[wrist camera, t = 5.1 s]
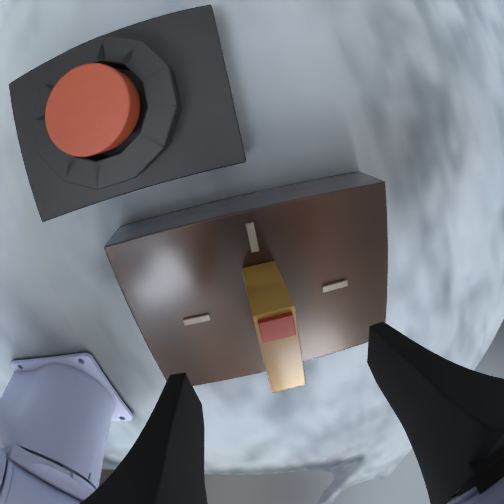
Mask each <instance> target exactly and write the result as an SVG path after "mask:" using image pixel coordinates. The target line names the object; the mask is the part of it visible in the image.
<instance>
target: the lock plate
mask: <svg viewBox="0 0 504 504" xmlns="http://www.w3.org/2000/svg"><path fill="white" fill-rule="evenodd" d="M104 248H105V251H106V254H107V256H108V259H109V261H110V264H111V266H112V269H113V271H114V274H115V276H116V278H117V281H118V283H119V285H120V288H121V290H122V292H123V295H124V297H125V299H126V301H127V304H128V306H129V308H130V310H131V312H132V314H133V317H134V319H135V321H136V323H137V325H138V327H139V329H140V331H141V333H142V335H143V337H144V339H145V341H146V343H147V345H148V347H149V349H150V351H151V353H152V355H153V357H154V359H155V360H156V362H157V364H158V366H159V368H160V370H161V372H162V373H163V375H164V377H165V379H166V381H167V380H168V378H169V376H170V375H172V374H178V373H184V372H185V373H186V375H187V377H188V379H189V381H190V383H191V385H192V386H195V385H201V384H206V383H212V382H217V381H223V380H228V379H233V378H237V377H242V376H247V375H251V374H256V373H260V372H264V371H266V368H265V364H264V360H263V356H262V352H261V348H260V345H259V341H258V337H257V333H256V329H255V325H254V321H253V317H252V313H251V308H250V304H249V299H248V295H247V290H246V285H245V281H244V276H243V271H242V268H246V267H250V266H254V265H258V264H262V263H266V262H271V261H275V263H276V265H277V267H278V270H279V272H280V274H281V276H282V279H283V281H284V283H285V285H286V288H287V290H288V292H289V294H290V297H291V299H292V301H293V304H294V306H295V311H296V318H297V325H298V331H299V338H300V345H301V352H302V359H303V362H304V361H307V360H311V359H315V358H318V357H322V356H325V355H328V354H332V353H335V352H338V351H341V350H345V349H348V348H351V347H354V346H357V345H360V344H363V343H366V342H369V326H371V325H374V324H377V323H380V322H384V323H385V320H386V303H387V273H388V237H387V207H386V190H385V182H384V181H381V180H379V179H376V178H374V177H371V176H369V175H366V174H364V173H361V172H354V173H349V174H343V175H338V176H332V177H327V178H322V179H316V180H311V181H306V182H301V183H296V184H291V185H286V186H282V187H277V188H272V189H268V190H263V191H259V192H254V193H250V194H245V195H241V196H236V197H232V198H228V199H224V200H220V201H215V202H211V203H207V204H203V205H199V206H195V207H191V208H187V209H183V210H179V211H176V212H172V213H168V214H164V215H161V216H157V217H153V218H150V219H146V220H142V221H139V222H135V223H132V224H128V225H125V226H121V227H120V228H119V229H118V230H117V231H116V233H115V234H114V235H113V236H112V238H111V239H110V240H109V241H108V243H107V244H106V245H105V246H104Z"/></svg>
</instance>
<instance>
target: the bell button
mask: <svg viewBox="0 0 504 504" xmlns="http://www.w3.org/2000/svg"><path fill="white" fill-rule="evenodd" d="M139 114H140V96H139V93H138V90H137V88H136V86H135V84H134V83H133V81H132V80H131V79H130V78H129V77H128V76H126V75H125V74H123V73H122V72H120V71H118V70H116V69H114V68H112V67H110V66H108V65H105V64H101V63H88V64H84V65H81V66H78V67H76V68H74V69H72V70H70V71H69V72H68V73H66V74H65V75H64V76H63V77H62V78H61V79H60V80H59V81H58V82H57V84H56V85H55V86H54V88H53V90H52V91H51V93H50V96H49V98H48V101H47V105H46V111H45V122H46V128H47V131H48V134H49V136H50V138H51V140H52V142H53V143H54V144H55V145H56V146H57V147H58V148H59V149H60V150H61V151H63V152H64V153H66V154H68V155H71V156H76V157H88V156H92V155H96V154H99V153H102V152H106V151H109V150H111V149H114V148H115V147H117V146H119V145H120V144H121V143H123V142H124V141H125V140H126V139H127V138H128V137H129V135H130V134H131V133H132V131H133V130H134V128H135V126H136V124H137V121H138V118H139Z"/></svg>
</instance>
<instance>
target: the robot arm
mask: <svg viewBox="0 0 504 504" xmlns="http://www.w3.org/2000/svg"><path fill="white" fill-rule="evenodd" d="M81 359H82V360H81ZM367 363H368V365H369V367H370V369H371V372H372V374H373V376H374V378H375V380H376V383H377V384H378V386H379V388H380V389H381V391H382V392H383V394H384V396H385V397H386V399H387V401H388V402H389V404H390V405H391V407H392V409H393V410H394V412H395V414H396V415H397V417H398V418H399V420H400V422H401V424H402V426H403V427H404V429H405V431H406V434H407V436H408V438H409V441H410V443H411V445H412V448H413V450H414V453H415V455H416V458H417V460H418V463H419V466H420V469H421V472H422V475H423V478H424V481H425V484H426V488H427V491H428V495H429V498H430V503H431V504H504V379H502V378H497V377H493V376H489V375H485V374H482V373H479V372H476V371H473V370H470V369H467V368H465V367H463V366H460V365H458V364H455V363H453V362H451V361H449V360H446V359H445V358H443V357H441V356H439V355H437V354H435V353H433V352H431V351H429V350H428V349H426V348H424V347H422V346H421V345H419V344H417V343H416V342H414V341H412V340H411V339H409V338H408V337H406V336H405V335H403V334H401V333H400V332H398V331H397V330H395V329H394V328H392V327H391V326H389V325H388V324H386V323H384V322H380V323H377V324H374V325H371V326H369V343H368V360H367ZM10 367H11V369H12V370H13V371H14V374H13V376H12V378H11V380H10V382H9V383H8V385H7V387H6V389H5V391H4V393H3V395H2V397H1V399H0V504H207V497H206V491H205V482H204V420H203V411H202V404H201V402H200V400H199V398H198V396H197V394H196V392H195V391H194V389H193V387H192V385H191V383H190V381H189V379H188V377H187V375H186V373H185V372H184V373H178V374H172V375H170V376H169V378H168V380H167V382H166V384H165V387H164V389H163V391H162V393H161V395H160V397H159V400H158V402H157V404H156V406H155V408H154V410H153V412H152V414H151V416H150V418H149V420H148V421H147V423H146V425H145V427H144V428H143V430H142V432H141V434H140V435H139V437H138V439H137V440H136V442H135V444H134V445H133V447H132V448H131V450H130V451H129V452H128V454H127V455H126V457H125V458H124V459H123V460H122V462H121V463H120V464H119V466H118V467H117V468H116V469H115V471H114V472H113V473H112V474H111V475H110V476H109V477H108V478H107V479H106V480H105V481H104V482H103V483H102V484H101V485H100V486H99V481H100V475H101V469H102V463H103V458H104V453H105V447H106V442H107V438H108V433H109V428H110V423H111V422H115V421H130V420H132V419H133V414H132V413H131V412H130V410H129V409H128V408H127V406H126V405H125V403H124V402H123V401H122V399H121V398H120V397H119V395H118V394H117V392H116V391H115V390H114V388H113V387H112V385H111V384H110V382H109V381H108V379H107V378H106V376H105V375H104V373H103V372H102V370H101V369H100V367H99V366H98V364H97V363H96V361H95V360H94V358H93V357H92V355H90V354H89V353H78V354H70V355H62V356H54V357H45V358H36V359H26V360H14V361H11V362H10Z"/></svg>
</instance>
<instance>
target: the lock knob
mask: <svg viewBox="0 0 504 504" xmlns="http://www.w3.org/2000/svg"><path fill="white" fill-rule="evenodd" d="M242 271H243V276H244V281H245V285H246V290H247V295H248V299H249V304H250V308H251V313H252V317H253V321H254V325H255V329H256V333H257V337H258V341H259V345H260V348H261V352H262V356H263V360H264V364H265V368H266V372H267V375H268V379H269V383H270V387H271V390H272V393H274V392H278V391H282V390H286V389H290V388H294V387H298V386H302V385H305V384H306V380H305V373H304V366H303V359H302V352H301V345H300V338H299V331H298V325H297V318H296V311H295V306H294V304H293V301H292V299H291V297H290V294H289V292H288V290H287V288H286V285H285V283H284V281H283V279H282V276H281V274H280V272H279V270H278V267H277V265H276V263H275V261H271V262H266V263H262V264H258V265H254V266H250V267H246V268H242Z"/></svg>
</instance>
